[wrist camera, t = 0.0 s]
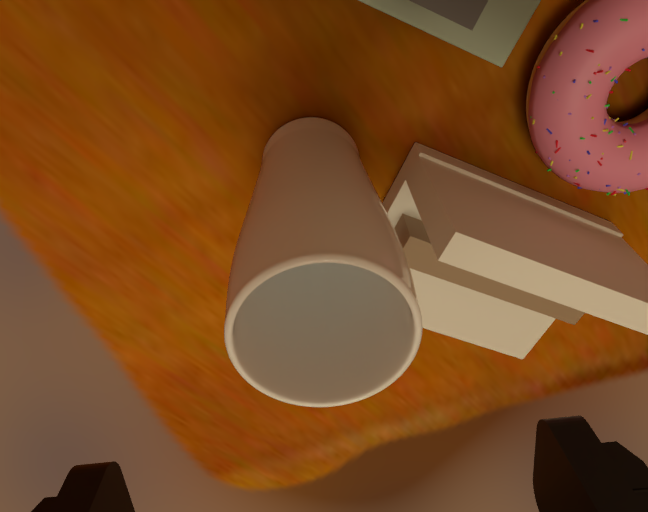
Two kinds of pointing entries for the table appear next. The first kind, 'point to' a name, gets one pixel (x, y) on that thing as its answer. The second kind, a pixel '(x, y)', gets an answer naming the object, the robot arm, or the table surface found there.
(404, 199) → the stand
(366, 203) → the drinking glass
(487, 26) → the olive boxy piece
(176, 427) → the table surface
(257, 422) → the table surface
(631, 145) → the doughnut
